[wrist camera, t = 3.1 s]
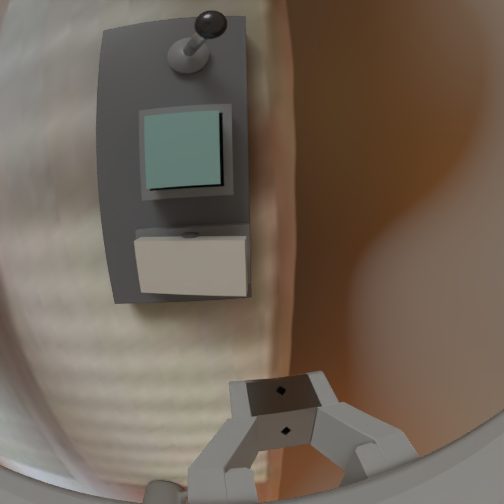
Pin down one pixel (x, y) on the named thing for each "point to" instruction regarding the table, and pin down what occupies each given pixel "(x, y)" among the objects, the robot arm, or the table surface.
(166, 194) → the control panel
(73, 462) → the table surface
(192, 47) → the toggle lever
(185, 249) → the rocker switch
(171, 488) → the cup
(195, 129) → the push button
